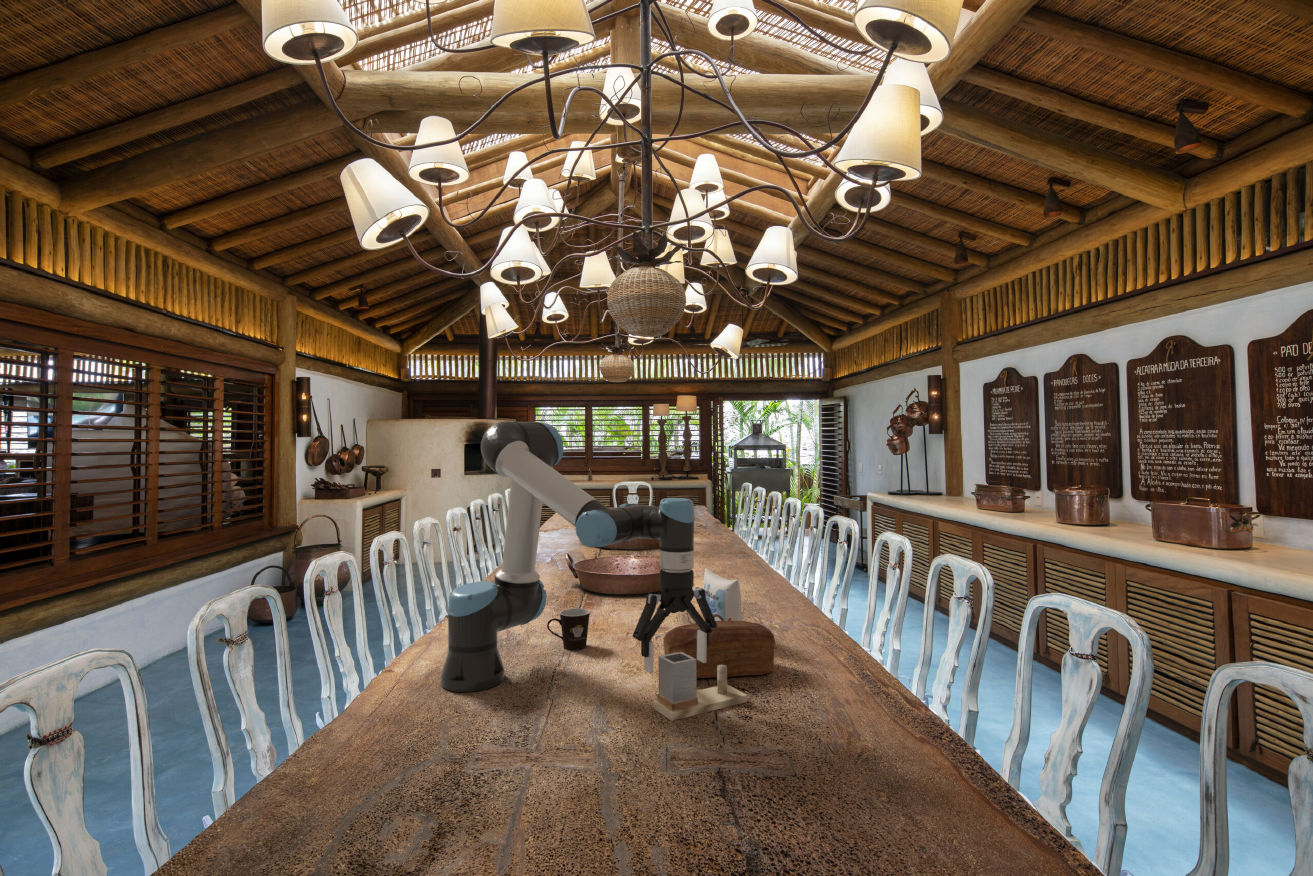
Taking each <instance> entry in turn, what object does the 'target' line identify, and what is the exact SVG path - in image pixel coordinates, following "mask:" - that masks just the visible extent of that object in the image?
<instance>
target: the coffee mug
mask: <svg viewBox="0 0 1313 876" xmlns="http://www.w3.org/2000/svg"><path fill="white" fill-rule="evenodd" d="M590 615H591V611H590V610H589V609H586V608H568V609H563V610H561V611H559V619H558V618H551V619H550V620H548V621H547V623H546V628H547V630H548V632H550V633H551V634H552V635H554V636H556V637H558V638H559V639H561V640H562V643H563V649H564V650H566V651H573V652H574V651H581V650H584V649H586V648H587V642H588V633H589V631H588V630H589V624H590V623H589V622H590ZM553 621H556V622H557V623H559V625H560V627H561V634H562V635H559V634H557V633H556V632H554V631H552V629H551V628H550V624H551V622H553Z"/></svg>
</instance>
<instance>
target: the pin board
mask: <svg viewBox="0 0 1313 876" xmlns="http://www.w3.org/2000/svg"><path fill="white" fill-rule="evenodd" d="M716 679H717V685H715V686H711V687H707V688H703V689H698V690H696V695H697V698H698V705H697V706H692V707H688V708H684V709H680V710H676V711H672V710H670V709H669V708H667V707H666V706H664V705H663V704H661V703H660V702H659V701H658V699H655V700H652V709H653V710H655V711H657V712H658V713H659V714H661V715H662V716H663V717H665V718H667V719H668V720H669V721H671V722H672V721H673V722H674V721H677V720H681V719H685V718H688V717H692V716H693V717H694V716H697V715H700V714H704V713H708V712H709V713H710V712H713V711H716V710H719V709H720V710H721V709H724V708H728V707H731V706H736V705H739V704H740V705H741V704H743V703H747V702H748V694H746V693H744V692H742V691H740V690H738V689H737V688H735V687H732V686H731V685H729V684H728V677H727V666H726V665H718V666H717V677H716Z"/></svg>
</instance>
